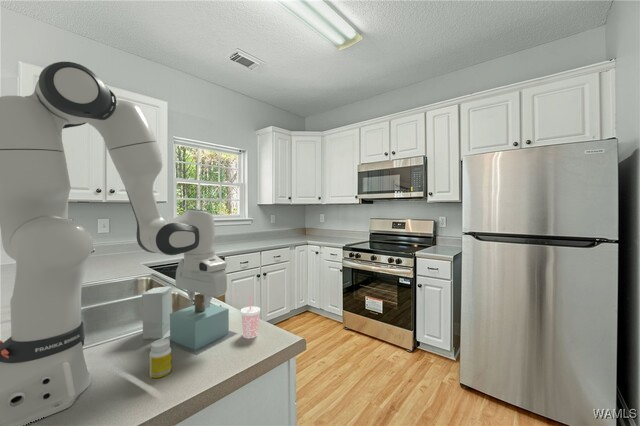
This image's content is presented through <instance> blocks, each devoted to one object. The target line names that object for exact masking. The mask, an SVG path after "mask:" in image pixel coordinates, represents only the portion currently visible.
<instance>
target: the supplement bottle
mask: <svg viewBox="0 0 640 426" xmlns="http://www.w3.org/2000/svg"><path fill="white" fill-rule="evenodd" d="M170 345H171V344H170V340H169V339H163V338H159V339H157V340H155V341H153V342H151V343H150V351H149V354H148V358H149V359H148V364H149V365H148V371H149V372H148V374H149V378H151V379H162V378H164V377H166V376H169V375H170V374H171V372H172V368H173V367H172V360H173V359H172V355H173V353H172V347H170Z"/></svg>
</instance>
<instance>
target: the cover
mask: <svg viewBox="0 0 640 426" xmlns="http://www.w3.org/2000/svg"><path fill="white" fill-rule="evenodd" d="M204 300H205V298H204V294H200V293H197V294H196V293H195V305H190V306H188V307H186V308H182V309H180V310H176V311H174V312H173V311H172V313H170V330H169V336H170V340H172V341H174V342H177V343H179V344H182V345H184V346H186V347H189V348H191V349H194V350H197V349H199V348H201V347H203V346H205V345H207V344H209V343H211V342H213V341H215V340H217V339H219V338H221V337H223V336H225V335H227V334H229V331H230V330H229V328H230V327H229V326H230V325H229V324H230V321H229V320H230V318H229V317H230V316H229V314H230V313H229V310H230V309H229V308H227V307H224V306H220V305H216V304H212V303H210V307H209V308H207V309H205V308H202V302H204Z"/></svg>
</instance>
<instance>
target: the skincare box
mask: <svg viewBox="0 0 640 426" xmlns="http://www.w3.org/2000/svg"><path fill="white" fill-rule="evenodd" d="M172 296H173V295H172V286H159V287H153V288H151V289H149V290H147V291H145V292H143V293H142V294H141V300H142V302H141V304H142V306H141V307H142V310H141V311H142V340H152V339H163V338H165V336H166V334H167V333H168V332H170V313H173V302H172V301H173V300H172Z"/></svg>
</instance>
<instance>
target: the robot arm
mask: <svg viewBox="0 0 640 426" xmlns="http://www.w3.org/2000/svg"><path fill="white" fill-rule="evenodd" d="M85 124H88V125H90V126H92V127H93V128H94V129H95V130H96V131H97V132H98V133H99V134H100V136H101V137H102V138H103V141H104V145H105V146H106V149H107V151H108V153H109V156H110V158H111V161H112V163H113V165H114V167H115V169H116V171H117V173H118V175H119V178H120V179H121V183H122V184H123V186H124V188H125V191H126V194H127V198H128V201H129V203H130V206H131V209H132V212H133V214H134V218H135V221H136V241H137V244H138V245H139V246H138V247H140V248H141V249H142V250H143V251H145V252H148V253H152V254H160V255H164V256H177V255H181V254H183V258H181V259H180V260H179V262H178V264H177V267H176V271H175V282H174V283H175V287H176V288H177V289H180V290H185V291H186V294H187V296H188V299H189V304H190V306H194V305H195V295H196V293H197V294H204V298H205V300H204V302H202V308H205V309H207V308H209V307H210V304H211V301H212V299H213V298H219V297H222V296H224V295H225V294H226V293H227V290H228V278H227V273H226V269H227V262H226V261H225V260H223V259H222V258H220V257H219V256H218V255H216V250H215V247H214V245H215V239H216V232H215V231H216V227H215V220H214V215H213V214H212V213H211V212H210V211H207V210H204V209H196V208H189V209H186V210H185V212H183V213H182V214H180V215H178V216H176V217H173V218H171V219H169V220H165V219H164V217H163V216H162V215H161V212H160V208H159V206H158V203H157V199H156V197H155V193H154V185H155V184H154V183H155V181H156V179H157V177H158V176H159V174H160V173H161V171H162V168H163V156H162V153H161V149H160V147H159V143H158V142H157V139H156V136H155V134H154V132H153V129H152V128H151V126H150V123H149V121H148V120H147V118H146V117H145V114H144V113H143V111H142V110H141V108H140V107H139V106H138V105H137V104H135V103H134V102H131V101H129V100H124V99H122V100H121V99H117V96H116V94H115V93H114V92H113V91H112V90H111V89H109V88H108V87H107V86H106V84H104V82H103V81H102V80H101V78H100V77H99V76H97V75H96V73H95V72H93V71H92V70H90V69H89V68H87V67H86V66H84V65H82V64H80V63H76V62H72V61H57V62H54V63H51V64H49V65H48V66H45V67H44V68H43V69H42V70H41V72H40V73H39V77H38V79H37V81H36V84H35V88H34V90H33V92H32V93H31V94H30V95H25V96H22V95H2V96H0V235H1V236H0V237H1V241H2V247H3V250H4V252H5V254H6V255H7V256H8V257H9V258H10V259H12V260H14V261H15V264H16V269H15V270H16V271H15V278H14V284H13V292H12V296H11V297H10V300H9V301H10V302H9V304H10V337H8V338H7V339H6V340H5V341H4V342H3V341H2V340H1V339H0V426H23V425H24V426H27V425H29V424H31V423H30V422H32V423H34V422H36V421H35V420H37V421H39V420H42V419H44V418H47V417H49V416H52V415H54V414H56V413H60V412H61V411H64V410H65V409H68V408H70V407H71V406H73V404H74V403H75V401H76V399H77V397H79V395H81V394H82V393H83V392H84V391H85V390H86V389H87V388H88V387H89V386H90V385H91V382H92V376H91V375H90V373H89V371H88V367H87V362H86V358H85V353H84V345H85V337H86V335H85V333H86V331H85V325H84V322H83V321H82V288H83V281H84V277H85V272H86V267H87V263H88V258H89V256H90V255H91V254H92V251H93V248H94V241H93V237H92V235H91V234H90V232H89V231H88V230H87V229H86V228H85V227H84V226H83V225H81V224H80V223H78V222H77V221H74V220H71V219H69V197H70V192H71V189H72V188H71V181H70V176H69V170H68V164H67V160H66V159H67V158H66V153H65V148H64V144H63V138H62V137H63V129H67V128H74V127H80V126H82V125H85ZM43 417H44V418H43ZM41 418H42V419H41ZM38 419H39V420H38ZM33 421H34V422H33ZM28 423H29V424H28ZM26 424H27V425H26Z"/></svg>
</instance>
